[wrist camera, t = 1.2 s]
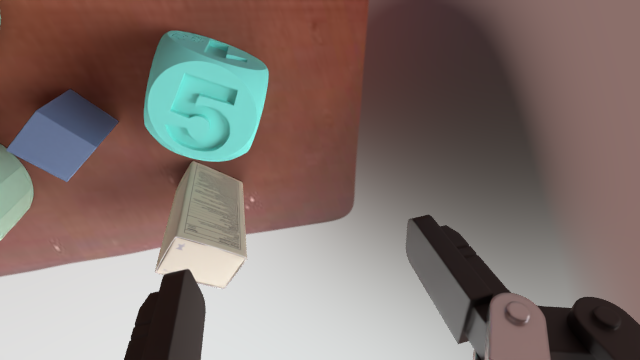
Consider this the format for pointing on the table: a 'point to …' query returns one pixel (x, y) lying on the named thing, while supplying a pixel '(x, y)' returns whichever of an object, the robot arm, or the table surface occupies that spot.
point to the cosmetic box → (205, 228)
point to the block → (62, 134)
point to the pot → (13, 191)
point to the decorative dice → (204, 97)
